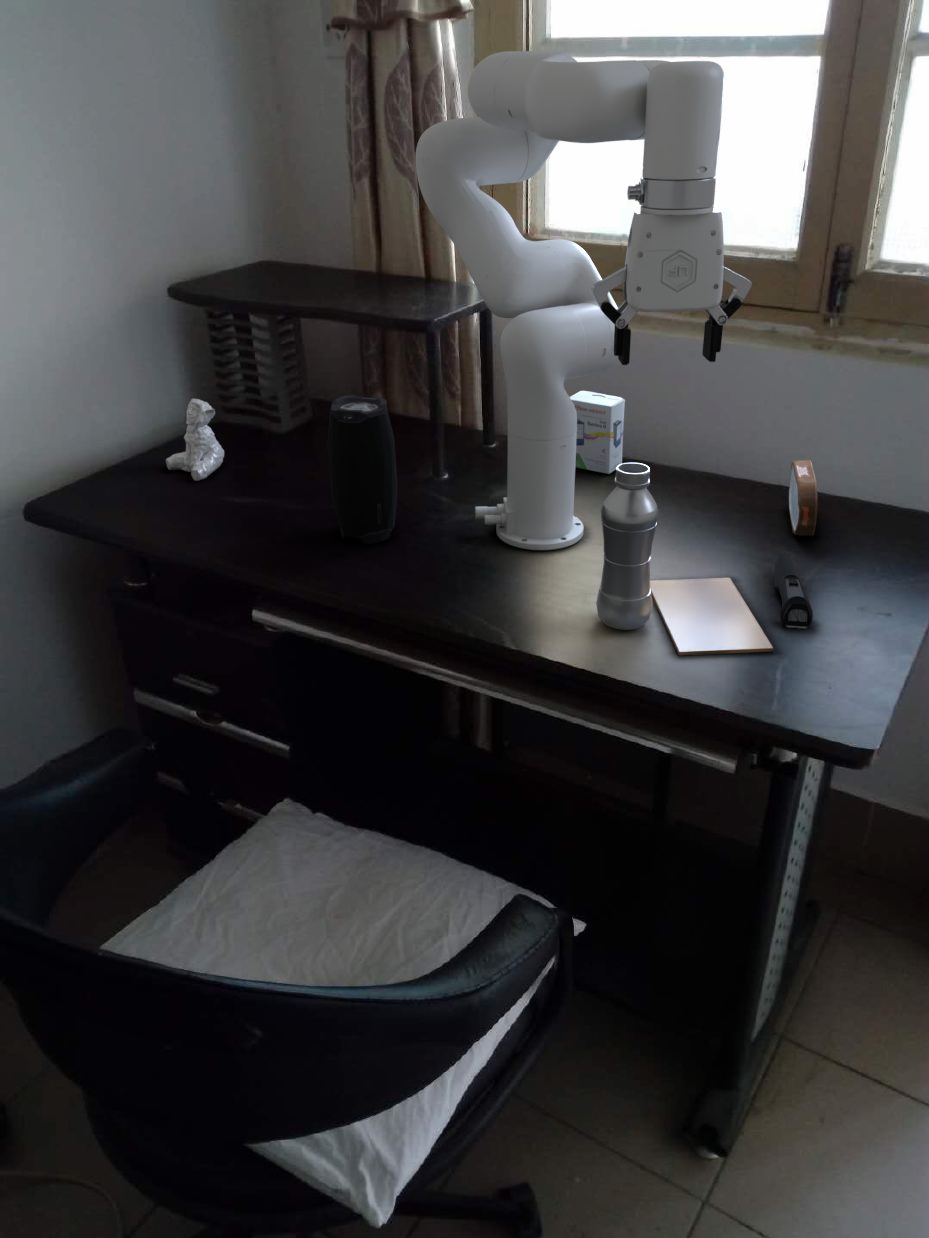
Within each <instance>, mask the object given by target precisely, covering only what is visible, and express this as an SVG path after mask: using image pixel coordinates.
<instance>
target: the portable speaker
mask: <svg viewBox="0 0 929 1238" xmlns="http://www.w3.org/2000/svg"><path fill="white" fill-rule="evenodd" d="M393 432H394V431H393V428H392V424H391V420H390V415H389V406H388V402H387V400H386V399H384V398H383V397H377V398H373V397H363V396H358V395H353V394H349V395H342V396H340V397H337V398H335V399H333V401H332V403H331V407H330V409H329V421H328V434H327V454H328V455H327V456H328V469H329V481H330V491H331V493H330V494H331V499H332V503H333V507H334V511H335V514H336V518H337V519H336V520H337V522H338V527H339V530H340V535H341V538H342V539H348V537H349V538H350V537H351V538H355V539H360V540H361V542H362V543H363V544H366V545H373V544H378V543H382V542H384V541H386V540H388V539H389V538H390V536H391V533H392V531H393V529H394V528H395V526H396V525H395V524H396V514H397V506H398V476H397V475H398V474H397V460H396V459H397V457H396V445H395V436H394V433H393Z"/></svg>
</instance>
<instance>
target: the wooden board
mask: <svg viewBox="0 0 929 1238" xmlns="http://www.w3.org/2000/svg"><path fill="white" fill-rule="evenodd" d="M650 589H651V594H652V600H653V601H654V604H655V605H656V608H657V611H658V612H659V614H660V617H661V619H662V621H663V623H664V625H665V628H666V631H667V633H668V634H669V636H670V638H671V641H672V644H673V645H674V648H675V650H676V652H677V654H678V656H699V655H701V656H702V655H724V654H747V653H748V654H749V653H772V652H774V647H773V645H772V643H771V642H770V640H769V638H768V637H767V635H766V633H765V632H764V630H763V629H762V627H761V626H760V624H759V622H758V620H757V619H756V618H755V616H754V615H753V613H752V611H751V609H750V608H749V606H748V605H747V603H746V601H745V600H744V598H743V596H742V594H741V593H740V592H739V590H738V588H737V587H736V585H735V583H734V582H733V580H732V578H731V577H704V578H682V579H681V578H680V579H679V578H678V579H677V578H676V579H654V580H653V579H652V580H651V579H650Z"/></svg>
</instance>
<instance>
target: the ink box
mask: <svg viewBox="0 0 929 1238" xmlns="http://www.w3.org/2000/svg"><path fill="white" fill-rule="evenodd" d="M569 397H570V399H571V400H572V402H573V404H574V406H575V409H576V413H577V438H576V463H575V468H577V469H583V470H588V471H592V472H596V473H601V474H602V473H603V474H607V475H610V474H612V473H613V472H614V471H616V469H617V466H618V465H620V464H623V450H624V449H623V446H624V426H625V425H624V424H625V406H626V405H625V403H626V400H625V398H623V397H621V396H616V395H609V394H604V393H599V392H594V391H588V390H580V391H577V392H576V393H574V394H572V395H569Z"/></svg>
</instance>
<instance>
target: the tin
mask: <svg viewBox="0 0 929 1238" xmlns="http://www.w3.org/2000/svg"><path fill="white" fill-rule="evenodd" d="M790 473H791V474H790V483H789V484H790V485H789V489H788V511H789V518H790V523H791V524H790V525H791V529H792V533H793V535H795V536H799V537H800V536H801V537H802V536H803V537H814V536H815V531H816V526H817V517H818V483H817V478H816V477H817V476H816V474H815V469H814V466H813V462H812V460H811V459H807V460H805V459H803V460H793V461H792V462H791V465H790Z"/></svg>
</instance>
